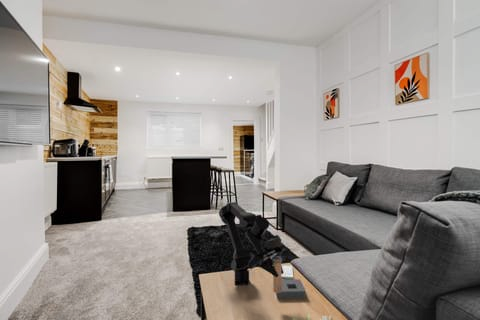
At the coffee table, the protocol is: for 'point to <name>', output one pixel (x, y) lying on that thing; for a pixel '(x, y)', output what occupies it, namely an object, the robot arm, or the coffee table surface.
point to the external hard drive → (287, 272)
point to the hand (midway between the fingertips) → (280, 275)
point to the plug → (278, 280)
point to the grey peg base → (292, 289)
